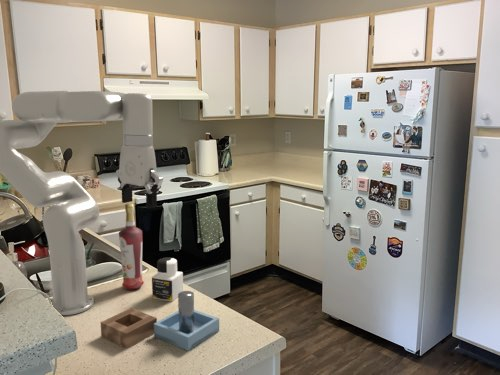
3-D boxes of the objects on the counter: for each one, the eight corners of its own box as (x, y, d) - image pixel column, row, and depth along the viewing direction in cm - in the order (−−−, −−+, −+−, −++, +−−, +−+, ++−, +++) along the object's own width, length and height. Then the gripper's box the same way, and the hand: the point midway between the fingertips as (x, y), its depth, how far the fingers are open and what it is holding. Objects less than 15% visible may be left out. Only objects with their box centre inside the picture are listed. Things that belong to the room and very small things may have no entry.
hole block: (101, 336, 115) (100, 322, 114) (131, 321, 123) (131, 308, 122) (127, 348, 109) (126, 333, 109) (157, 331, 117) (156, 317, 117)
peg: (175, 330, 116) (174, 294, 114) (186, 324, 119) (185, 289, 117) (187, 335, 114) (186, 298, 112) (197, 328, 117) (196, 293, 115)
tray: (154, 336, 115) (153, 323, 115) (185, 318, 125) (185, 306, 124) (188, 350, 108) (188, 337, 108) (219, 330, 118) (219, 318, 118)
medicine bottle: (152, 298, 138) (150, 261, 135) (164, 289, 144) (162, 254, 142) (172, 302, 135) (171, 264, 133) (183, 292, 142) (182, 257, 140)
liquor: (149, 286, 146) (145, 203, 141) (130, 293, 141) (126, 207, 136) (135, 281, 151) (132, 200, 146) (117, 287, 146) (112, 204, 140)
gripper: (105, 139, 118) (107, 202, 122) (149, 144, 109) (150, 212, 112) (127, 138, 124) (129, 197, 128) (172, 143, 115) (172, 207, 118)
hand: (139, 204), depth 120 cm, fingers open, 9 cm apart
